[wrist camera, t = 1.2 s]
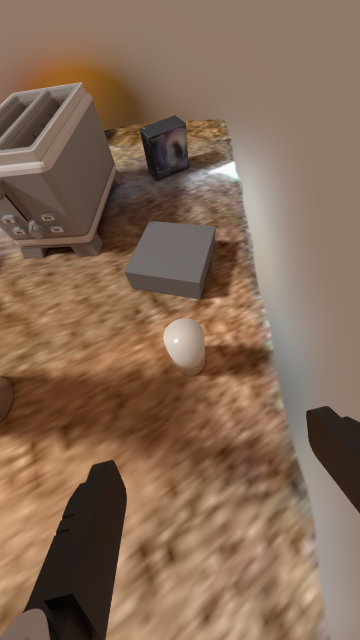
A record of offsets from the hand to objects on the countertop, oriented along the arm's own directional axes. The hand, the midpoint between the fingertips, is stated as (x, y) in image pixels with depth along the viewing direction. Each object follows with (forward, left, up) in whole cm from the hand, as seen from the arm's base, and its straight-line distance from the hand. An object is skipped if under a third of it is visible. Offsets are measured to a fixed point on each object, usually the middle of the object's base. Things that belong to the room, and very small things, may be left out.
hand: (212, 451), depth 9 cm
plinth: (-13, +29, -24) cm, 40 cm away
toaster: (-44, +41, -24) cm, 65 cm away
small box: (-25, +64, -24) cm, 73 cm away
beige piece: (-5, +10, -24) cm, 27 cm away
